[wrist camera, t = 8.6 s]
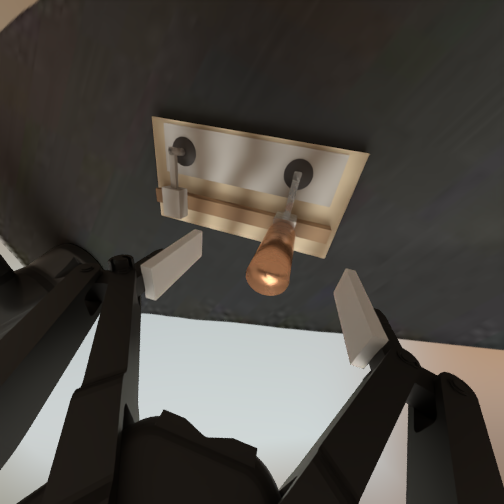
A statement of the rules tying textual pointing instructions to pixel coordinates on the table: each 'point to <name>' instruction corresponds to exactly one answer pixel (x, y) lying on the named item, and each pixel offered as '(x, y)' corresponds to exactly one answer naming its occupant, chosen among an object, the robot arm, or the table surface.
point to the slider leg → (275, 250)
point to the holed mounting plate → (252, 181)
